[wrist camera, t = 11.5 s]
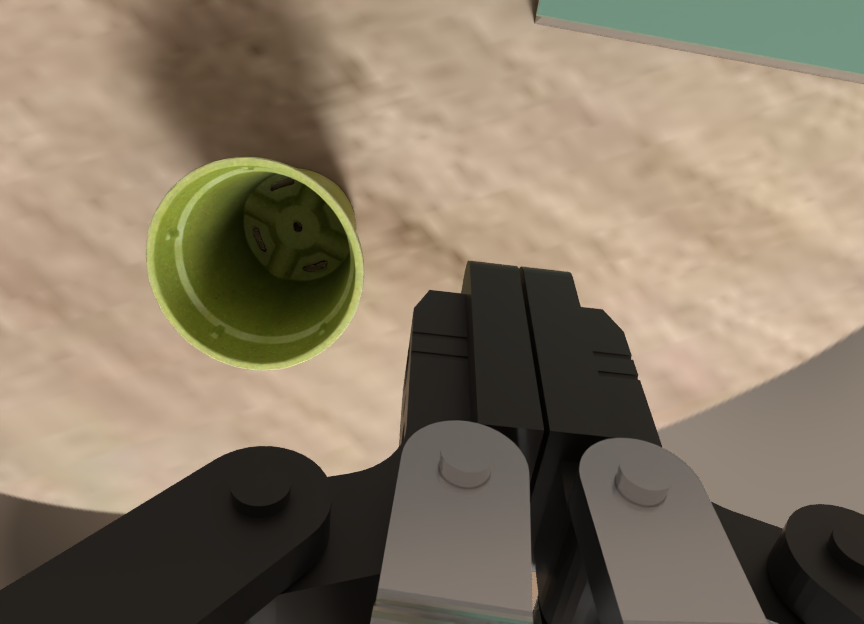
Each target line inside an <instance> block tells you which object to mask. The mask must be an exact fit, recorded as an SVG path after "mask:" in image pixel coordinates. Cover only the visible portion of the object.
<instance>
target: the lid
mask: <svg viewBox="0 0 864 624" xmlns="http://www.w3.org/2000/svg"><path fill="white" fill-rule="evenodd" d="M536 16H539V17H544V18H550V19H555V20H561V21H566V22H572V23H577V24H583V25H588V26H594V27H599V28H605V29H610V30H616V31H621V32H626V33H632V34H637V35H643V36H648V37H654V38H659V39H665V40H670V41H676V42H681V43H687V44H692V45H698V46H703V47H708V48H714V49H719V50H725V51H730V52H736V53H741V54H747V55H752V56H758V57H763V58H769V59H774V60H780V61H785V62H790V63H796V64H801V65H807V66H812V67H818V68H823V69H829V70H834V71H840V72H845V73H851V74H856V75H862V76H864V0H539V2H538V7H537V12H536Z"/></svg>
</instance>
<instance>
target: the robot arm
mask: <svg viewBox="0 0 864 624" xmlns="http://www.w3.org/2000/svg"><path fill="white" fill-rule="evenodd" d="M631 356H632V355H631V352H630V349H629V346H628V343H627V340H626V337H625V334H624V332H623V331H622V329H621V328H620V327H619V326H618V325H617V324H616V323H615V322H614V321H613V320H612V319H611V318H610V317H609V316H608V315H607V314H606V313H605V312H604V310H603V309H594V308H585V307H581V306H580V303H579V299H578V295H577V291H576V288H575V284H574V280H573V277H572V274H571V273H570V272H564V271H555V270H547V269H538V268H529V267H520V268H518V267H517V266H511V265H502V264H494V263H485V262H476V261H468V262H467V265H466V269H465V274H464V280H463V285H462V291H461V294H460V293H452V292H443V291H434V290H429V291H428V293H427V294H426V295H425V296H424V297H423V298H422V300H421V301H420V302H419V303H418V304H417V305H416V306H415V308H414V312H413V319H412V327H411V334H410V342H409V349H408V356H407V364H406V371H405V379H404V386H403V397H402V411H401V424H400V439H399V448H398V449H397V450H396V451H395V452H394V453H393V454H392V455H391V456H390V457H389V458H387V459H386V460H385V461H383V462H382V463H380V464H378V465H376V466H374V467H371V468H368V469H366V470H363V471H359V472H354V473H350V474H343V475H337V476H331V477H327V476H326V474H325V473H324V472H323V471H322V469H321V468H320V467H319V466H318V465H317V464H316V463H315V462H313V461H312V460H311V459H309V458H307V457H306V456H304V455H302V454H300V453H297V452H295V451H292V450H289V449H285V448H280V447H272V446H257V447H248V448H244V449H239V450H236V451H233V452H230V453H227V454H225V455H223V456H221V457H219V458H217V459H215V460H214V461H212V462H210V463H209V464H207V465H205V466H204V467H202V468H200V469H199V470H197V471H196V472H194V473H192V474H191V475H189V476H187V477H186V478H184V479H182V480H181V481H179V482H177V483H176V484H174V485H173V486H171V487H169V488H168V489H166V490H164V491H163V492H161V493H159V494H158V495H156V496H154V497H153V498H151V499H150V500H148V501H146V502H145V503H143V504H141V505H140V506H138V507H136V508H135V509H133V510H131V511H130V512H128V513H127V514H125V515H123V516H122V517H120V518H118V519H117V520H115V521H113V522H112V523H110V524H109V525H107V526H105V527H104V528H102V529H100V530H99V531H97V532H95V533H94V534H92V535H90V536H89V537H87V538H85V539H84V540H82V541H81V542H79V543H77V544H76V545H74V546H72V547H71V548H69V549H67V550H66V551H64V552H62V553H61V554H60V555H58V556H56V557H54V558H53V559H51V560H50V561H48V562H46V563H44V564H43V565H41V566H39V567H38V568H36V569H35V570H33V571H31V572H30V573H28V574H26V575H25V576H23V577H22V578H20V579H18V580H16V581H15V582H13V583H12V584H10V585H8V586H7V587H5V588H3V589H2V590H0V624H864V515H862V514H860V513H857V512H855V511H853V510H849V509H846V508H843V507H839V506H833V505H824V504H823V505H822V504H818V505H817V504H816V505H809V506H805V507H802V508H800V509H798V510H796V511H795V512H794V513H793V514H792V515H791V516H790V517H789V519H788V521H787V523H786V525H785V527H784V528H783V529H782V528H779V527H777V526H774V525H771V524H768V523H765V522H762V521H759V520H756V519H753V518H750V517H748V516H745V515H742V514H739V513H736V512H733V511H731V510H728V509H726V508H723V507H721V506H719V505H717V504H715V503H713V502H711V501H710V499H709V497H708V495H707V493H706V491H705V489H704V486H703V484H702V482H701V481H700V479H699V478H698V476H697V475H696V474H695V472H694V471H693V470H692V469H691V468H690V467H689V466H688V465H687V464H686V463H685V462H684V461H683V460H681V459H680V458H679V457H677V456H676V455H675V454H673V453H671V452H670V451H668V450H666V449H664V448H662V445H661V442H660V439H659V436H658V433H657V430H656V427H655V424H654V421H653V418H652V415H651V412H650V409H649V406H648V403H647V400H646V397H645V394H644V391H643V388H642V385H641V382H640V380H638V373H637V370H636V367H635V364H634V361H633V360H631ZM532 572H536V577H537V585H538V596H537V599H536V603H535V606H534V609H533V612H532Z"/></svg>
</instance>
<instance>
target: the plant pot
mask: <svg viewBox="0 0 864 624" xmlns="http://www.w3.org/2000/svg"><path fill="white" fill-rule="evenodd" d="M287 178H290V179H293V180H294V182H295V183H294V184H293V185H288V186H284V187H281V188H278V189H275V190H274V191H271V190H270V189H271V188H272V186H273V185H274V184H275V183H277V182H278V181H280V180H283V179H287ZM296 222H299V223H300V224H301V225H302V231H300V232H297V231H295V230H294V228H293V225H294V223H296ZM255 227H256V228H258V229H259V233H260V235H261V238H262V240H263V243H264V245H265V247H266V248H267V250H266V252H265V251H262V250H261V249H260V247H259V245H258V243H257V241H256V240H255V238H254V234H253V229H254V228H255ZM323 260H326V261H327V265H326V266H325V267H324V268H322V269H319V270H316V271H312V272H309V271H305V270H303V268H304V266H308V265H313V264H317V263H319V262H321V261H323ZM146 262H147V272H148V278H149V281H150V285H151V288H152V291H153V293H154V296H155V298H156V300H157V302H158V304H159V307H160V309H161V310H162V312H163V313H164V315H165V317H166V318H167V319H168V321H169V322H170V323H171V324H172V325H173V327H174V328H175V329H176V331H177V332H178V333H179V334H180V335H181V336H182V337H183V338H184V339H185V340H186V341H187V342H188V343H189V344H191V345H192V346H194V347H195V348H197V349H199V350H200V351H201V352H203V353H204V354H206V355H208V356H210V357H211V358H213V359H215V360H218V361H220V362H222V363H225V364H228V365H231V366H235V367H238V368H243V369H250V370H277V369H283V368H287V367H291V366H295V365H298V364H300V363H303V362H306V361H308V360H310V359H312V358H313V357H315V356H317V355H319V354H320V353H322V352H323V351H324V350H326V349H327V348H328V347H329V346H331V345H332V344H333V343H334V342H335V341H336V340H337V339H338V338H339V337H340V336H341V334H342V333H343V332H344V331H345V329H346V328H347V326H348V325H349V323H350V322H351V320H352V318H353V316H354V314H355V312H356V310H357V307H358V304H359V301H360V298H361V294H362V289H363V282H364V260H363V254H362V249H361V244H360V241H359V238H358V235H357V233H356V220H355V215H354V211H353V208H352V206H351V204H350V202H349V200H348V198H347V197H346V195H345V194H344V193H343V191H342V190H341V189H340V188H339V187H338V186H337V185H336V184H335V183H334V182H332V181H331V180H329V179H328V178H326V177H324V176H322V175H320V174H318V173H316V172H313V171H310V170H306V169H299V168H295V167H292V166H290V165H287V164H285V163H282V162H279V161H275V160H272V159H267V158H261V157H233V158H227V159H222V160H218V161H215V162H211V163H209V164H206V165H204V166H201V167H199V168H197V169H195V170H194V171H192V172H190V173H189V174H187V175H186V176H185V177H183V178H182V179H181V180H180V181H179V182H178V183H176V184H175V185H174V186H173V187H172V188H171V190H170V191H169V192H168V193H167V194H166V195H165V197H164V198H163V199H162V201H161V203H160V204H159V206H158V208H157V210H156V212H155V214H154V216H153V219H152V221H151V225H150V228H149V231H148V237H147V247H146Z"/></svg>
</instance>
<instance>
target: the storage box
mask: <svg viewBox="0 0 864 624" xmlns="http://www.w3.org/2000/svg"><path fill="white" fill-rule="evenodd" d="M535 24H540V25H546V26H551V27H557V28H562V29H567V30H573V31H578V32H584V33H589V34H595V35H600V36H606V37H611V38H617V39H622V40H628V41H633V42H638V43H644V44H649V45H655V46H660V47H666V48H671V49H677V50H682V51H688V52H693V53H699V54H704V55H709V56H715V57H720V58H726V59H731V60H737V61H742V62H748V63H753V64H759V65H764V66H770V67H775V68H780V69H786V70H791V71H797V72H802V73H808V74H813V75H819V76H824V77H830V78H835V79H841V80H846V81H851V82H857V83H862V84H864V76H862V75H856V74H851V73H845V72H840V71H834V70H829V69H823V68H818V67H812V66H807V65H801V64H796V63H790V62H785V61H780V60H774V59H769V58H763V57H758V56H752V55H747V54H741V53H736V52H730V51H725V50H719V49H714V48H708V47H703V46H698V45H692V44H687V43H681V42H676V41H670V40H665V39H659V38H654V37H648V36H643V35H637V34H632V33H626V32H621V31H616V30H610V29H605V28H599V27H594V26H588V25H583V24H577V23H572V22H566V21H561V20H555V19H550V18H544V17H539V16H536V18H535Z"/></svg>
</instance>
